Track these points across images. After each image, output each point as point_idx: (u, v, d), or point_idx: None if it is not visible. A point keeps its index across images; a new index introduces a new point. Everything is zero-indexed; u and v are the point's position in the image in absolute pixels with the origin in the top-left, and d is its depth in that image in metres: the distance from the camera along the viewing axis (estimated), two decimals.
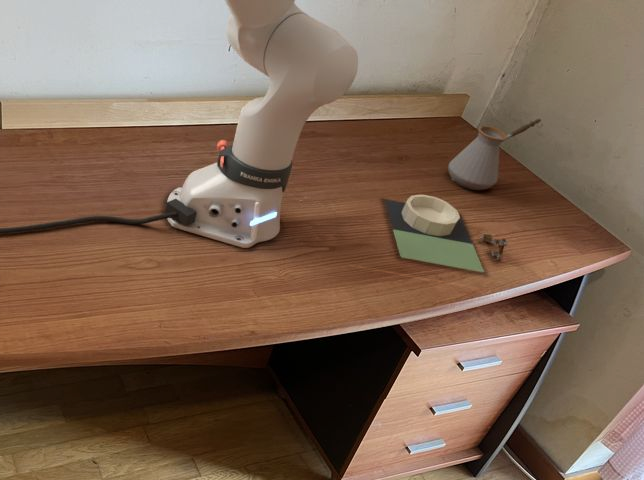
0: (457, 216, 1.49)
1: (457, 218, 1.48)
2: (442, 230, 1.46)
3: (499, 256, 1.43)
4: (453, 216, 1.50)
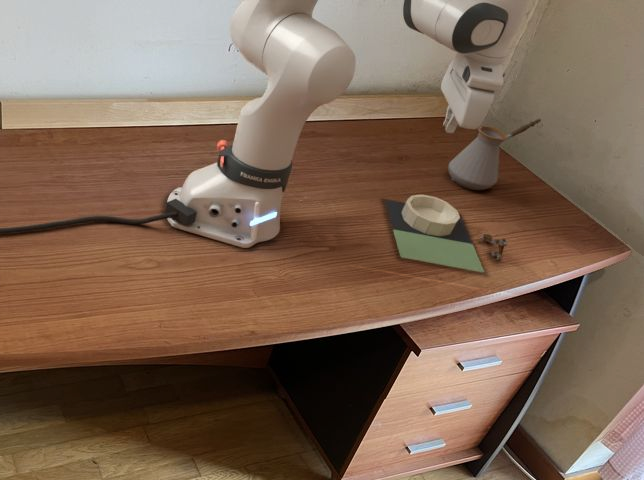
0: (457, 216, 1.49)
1: (457, 218, 1.48)
2: (442, 230, 1.46)
3: (499, 256, 1.43)
4: (453, 216, 1.50)
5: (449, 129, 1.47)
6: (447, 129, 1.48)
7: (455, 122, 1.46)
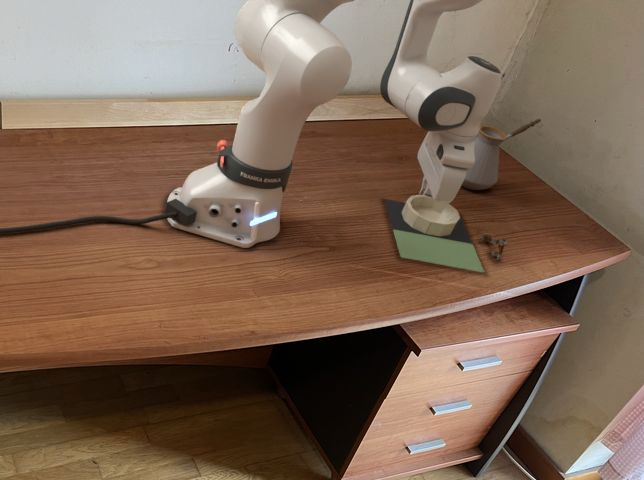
0: (458, 216, 1.48)
1: (457, 218, 1.48)
2: (442, 230, 1.46)
3: (499, 256, 1.43)
4: (453, 216, 1.50)
5: None
6: None
7: (430, 192, 1.52)
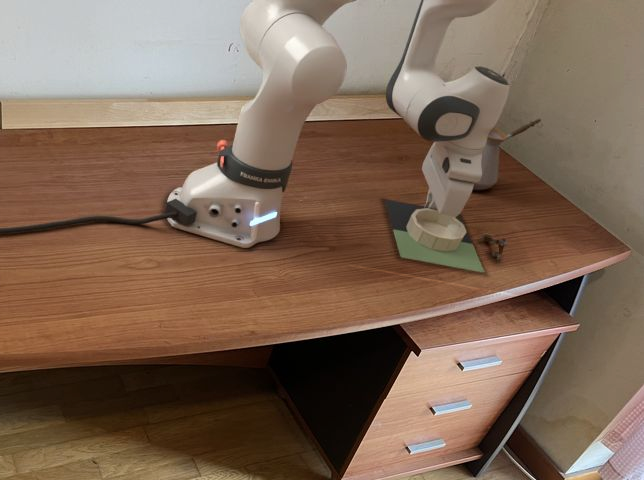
0: (464, 230, 1.44)
1: (464, 233, 1.44)
2: (448, 245, 1.42)
3: (499, 256, 1.43)
4: (459, 230, 1.46)
5: None
6: None
7: (436, 206, 1.48)
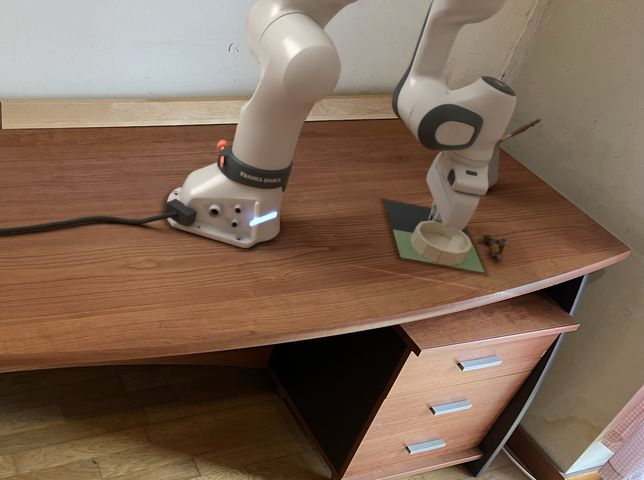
0: (470, 243, 1.41)
1: (469, 246, 1.40)
2: (454, 259, 1.39)
3: (499, 256, 1.43)
4: (465, 244, 1.42)
5: None
6: None
7: (440, 218, 1.44)
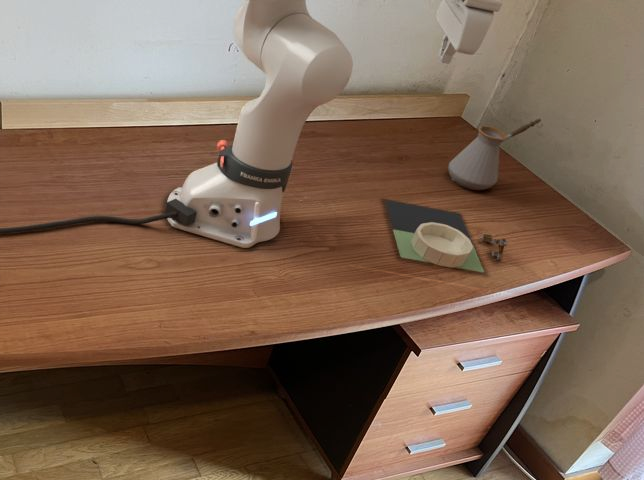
0: (470, 245, 1.40)
1: (470, 248, 1.40)
2: (454, 261, 1.38)
3: (499, 256, 1.43)
4: (466, 246, 1.42)
5: (445, 59, 1.38)
6: (443, 59, 1.38)
7: (451, 51, 1.37)
